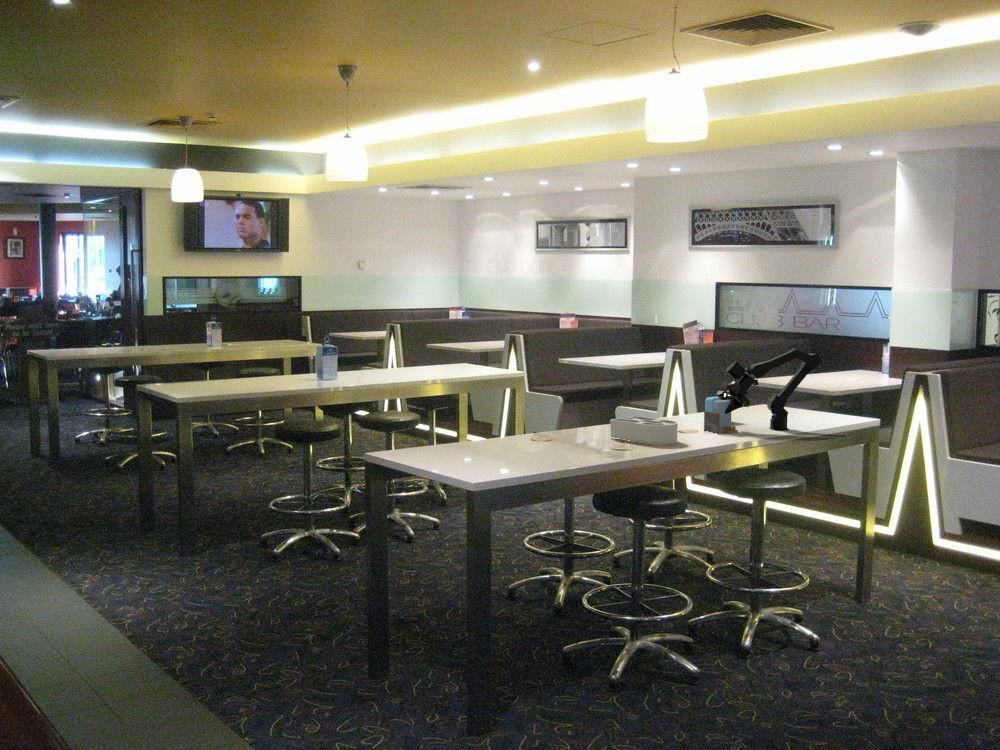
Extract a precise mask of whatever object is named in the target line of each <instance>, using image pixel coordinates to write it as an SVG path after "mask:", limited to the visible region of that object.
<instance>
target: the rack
mask: <svg viewBox="0 0 1000 750" xmlns="http://www.w3.org/2000/svg"><path fill="white" fill-rule="evenodd" d="M703 413H704V414H703V432H706V431H708V432H707V433H711V432H713V433H712V434H715V433H717V434H716V435H719V434H718V433H724V434H730V433H729V432H735V433H739V430H738V429H736V426H735V425H734V426H732V425H731V427H720V428H719V413H714V412H709V411H705V410H704V411H703Z"/></svg>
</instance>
